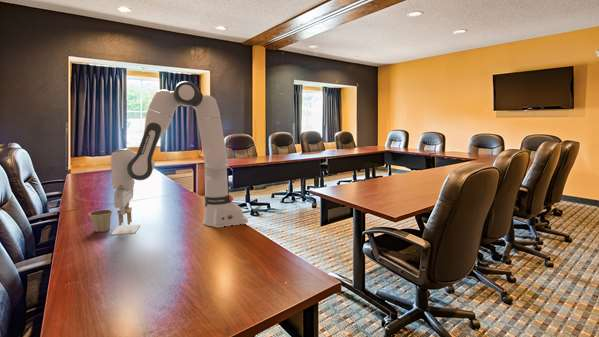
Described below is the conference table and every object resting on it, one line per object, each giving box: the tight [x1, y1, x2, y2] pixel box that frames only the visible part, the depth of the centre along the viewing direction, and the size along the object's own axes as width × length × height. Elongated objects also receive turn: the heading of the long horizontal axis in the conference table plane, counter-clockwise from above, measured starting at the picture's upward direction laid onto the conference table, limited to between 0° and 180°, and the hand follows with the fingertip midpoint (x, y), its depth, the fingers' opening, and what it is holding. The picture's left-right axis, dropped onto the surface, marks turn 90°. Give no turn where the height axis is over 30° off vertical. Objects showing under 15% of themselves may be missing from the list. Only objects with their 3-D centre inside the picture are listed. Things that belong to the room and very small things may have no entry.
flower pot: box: [88, 209, 113, 233], centre depth 154 cm, size 9×9×9 cm
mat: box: [110, 224, 141, 236], centre depth 155 cm, size 10×12×1 cm
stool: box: [116, 206, 133, 226], centre depth 154 cm, size 5×5×7 cm
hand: (124, 212), depth 154 cm, fingers closed on stool, 5 cm apart
